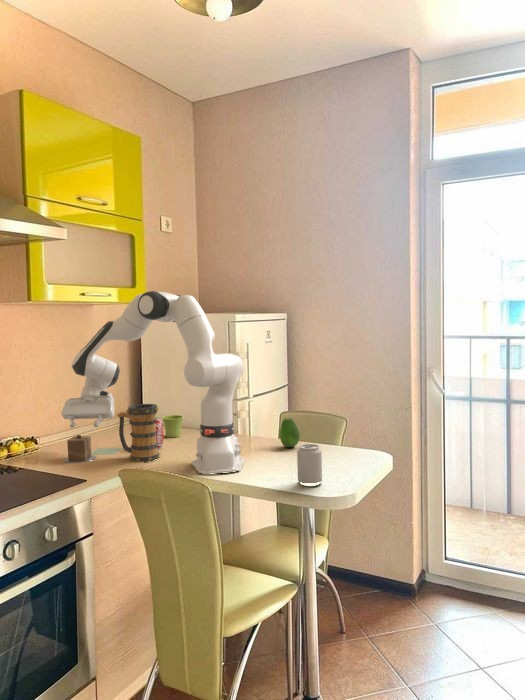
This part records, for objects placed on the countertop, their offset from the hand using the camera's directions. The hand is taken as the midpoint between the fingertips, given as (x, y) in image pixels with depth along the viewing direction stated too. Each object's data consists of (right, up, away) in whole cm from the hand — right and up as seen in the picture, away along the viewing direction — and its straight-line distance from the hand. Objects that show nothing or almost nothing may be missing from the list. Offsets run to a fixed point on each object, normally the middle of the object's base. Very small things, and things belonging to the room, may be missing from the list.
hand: (84, 426), depth 215 cm
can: (+84, -12, -44) cm, 95 cm away
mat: (+7, -11, +6) cm, 14 cm away
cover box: (0, -12, -5) cm, 13 cm away
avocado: (+80, -9, +5) cm, 81 cm away
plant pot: (+29, -9, +33) cm, 45 cm away
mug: (+23, -12, -6) cm, 26 cm away
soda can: (+25, -10, +11) cm, 29 cm away
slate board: (0, -12, -5) cm, 13 cm away
